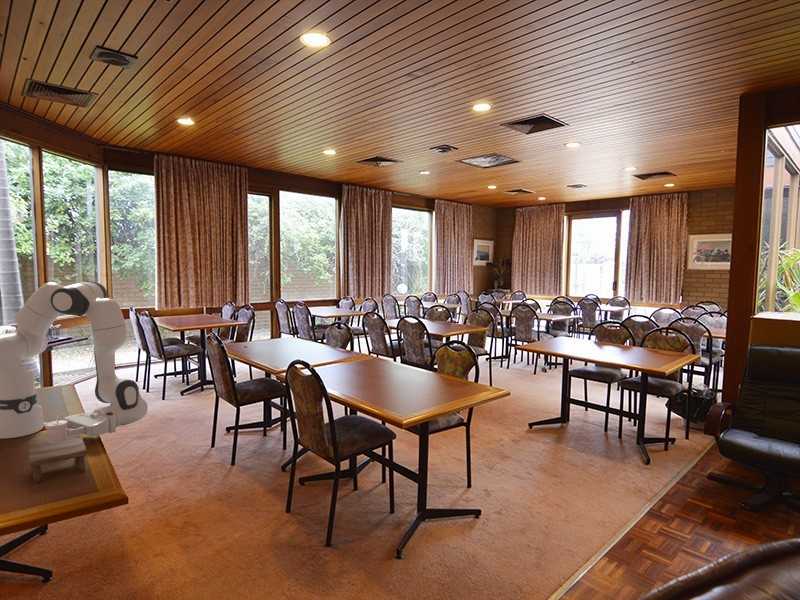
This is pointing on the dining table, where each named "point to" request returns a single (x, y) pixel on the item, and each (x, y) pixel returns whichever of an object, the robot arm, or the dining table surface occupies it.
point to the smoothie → (56, 430)
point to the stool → (57, 455)
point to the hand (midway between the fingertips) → (61, 430)
